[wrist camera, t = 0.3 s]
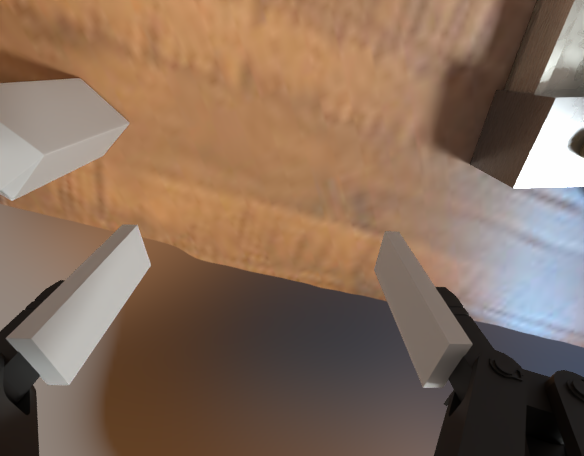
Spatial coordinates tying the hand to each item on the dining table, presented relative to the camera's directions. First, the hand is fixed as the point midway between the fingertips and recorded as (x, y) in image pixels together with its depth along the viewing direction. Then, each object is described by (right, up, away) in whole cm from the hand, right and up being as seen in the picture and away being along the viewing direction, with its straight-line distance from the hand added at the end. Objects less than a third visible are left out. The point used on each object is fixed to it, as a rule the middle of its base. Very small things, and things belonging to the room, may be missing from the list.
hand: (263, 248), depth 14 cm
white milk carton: (-26, +16, +21) cm, 37 cm away
